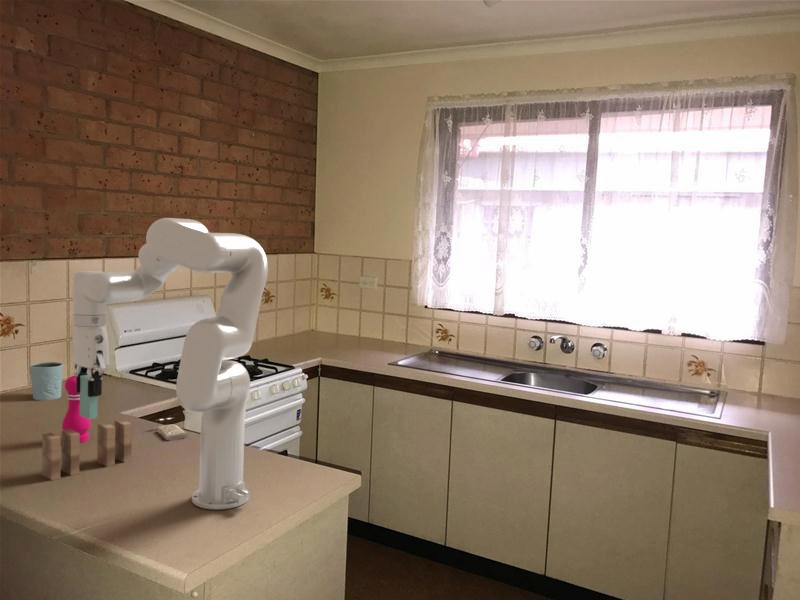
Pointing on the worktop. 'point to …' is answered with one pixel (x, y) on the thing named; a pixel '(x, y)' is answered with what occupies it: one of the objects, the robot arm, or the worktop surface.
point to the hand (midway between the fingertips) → (88, 393)
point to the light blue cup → (46, 380)
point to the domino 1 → (51, 456)
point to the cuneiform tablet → (171, 431)
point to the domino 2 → (70, 452)
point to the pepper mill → (75, 411)
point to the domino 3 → (87, 400)
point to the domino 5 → (123, 440)
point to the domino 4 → (106, 444)
